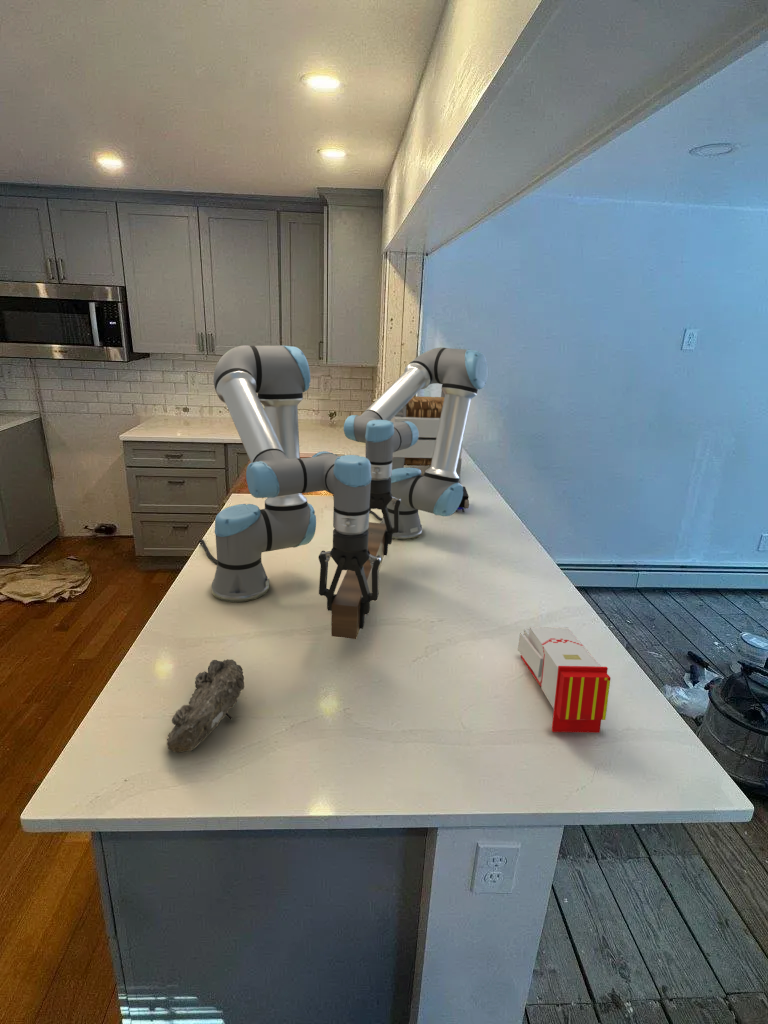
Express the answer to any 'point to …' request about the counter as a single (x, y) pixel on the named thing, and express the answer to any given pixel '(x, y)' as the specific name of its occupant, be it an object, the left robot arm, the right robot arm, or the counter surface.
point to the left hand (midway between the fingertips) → (348, 623)
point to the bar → (356, 589)
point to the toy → (566, 678)
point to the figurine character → (464, 500)
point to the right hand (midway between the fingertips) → (375, 552)
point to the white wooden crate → (421, 432)
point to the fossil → (206, 705)
